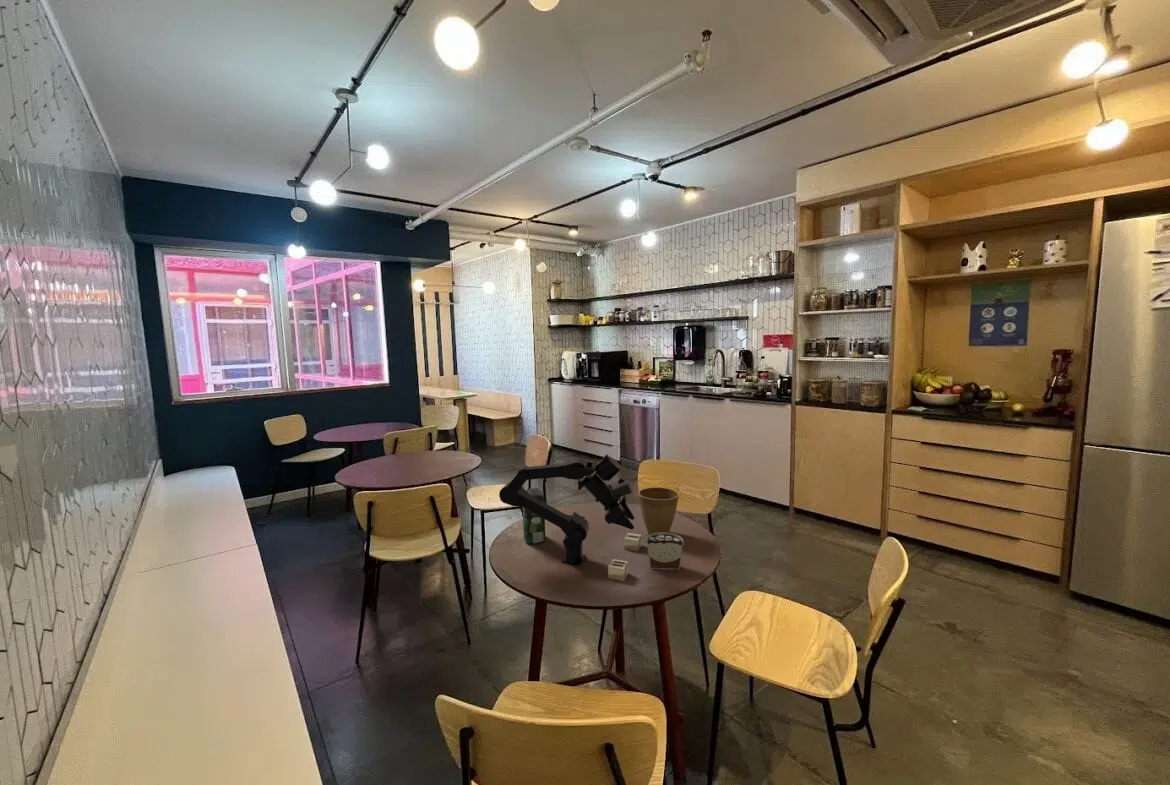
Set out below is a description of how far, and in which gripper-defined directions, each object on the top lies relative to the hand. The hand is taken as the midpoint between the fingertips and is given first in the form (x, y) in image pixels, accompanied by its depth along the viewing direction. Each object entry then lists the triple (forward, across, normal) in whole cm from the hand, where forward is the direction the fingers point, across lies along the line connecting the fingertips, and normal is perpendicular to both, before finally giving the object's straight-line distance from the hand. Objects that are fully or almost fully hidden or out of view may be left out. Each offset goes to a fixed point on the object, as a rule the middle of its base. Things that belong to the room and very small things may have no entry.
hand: (633, 523), depth 153 cm
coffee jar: (-16, +15, +36) cm, 42 cm away
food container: (+17, 0, +2) cm, 17 cm away
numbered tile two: (+6, -9, +13) cm, 17 cm away
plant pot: (+16, +24, +3) cm, 29 cm away
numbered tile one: (+10, +12, +10) cm, 18 cm away
